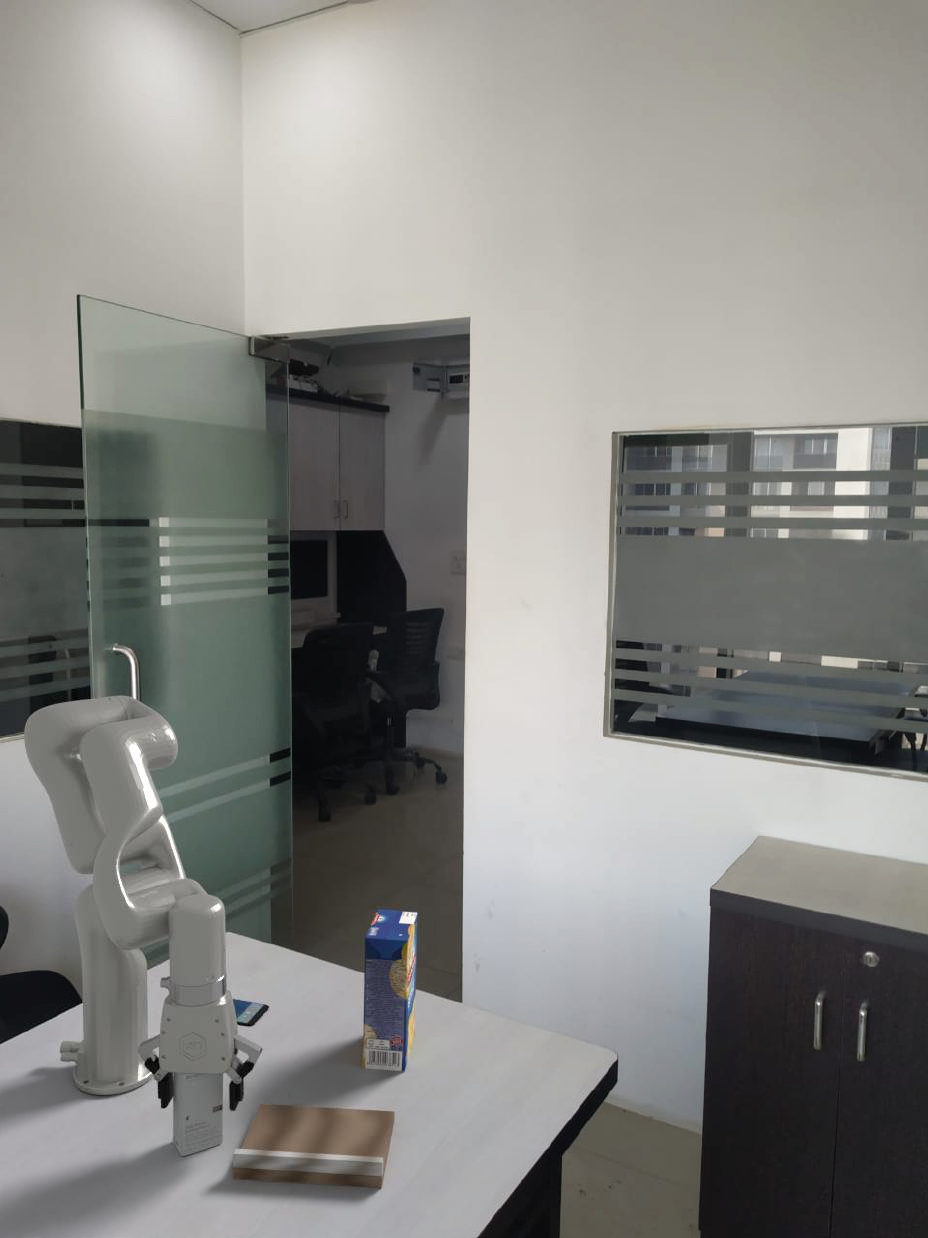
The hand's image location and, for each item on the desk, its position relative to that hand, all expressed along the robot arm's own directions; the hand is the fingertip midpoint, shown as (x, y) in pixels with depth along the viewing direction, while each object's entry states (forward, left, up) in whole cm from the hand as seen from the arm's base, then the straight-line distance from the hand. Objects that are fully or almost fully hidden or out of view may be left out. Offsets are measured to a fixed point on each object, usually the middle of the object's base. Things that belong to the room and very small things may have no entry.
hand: (201, 1104), depth 134 cm
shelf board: (+16, +1, -6) cm, 17 cm away
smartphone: (-8, +36, -7) cm, 37 cm away
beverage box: (+23, +26, -6) cm, 35 cm away
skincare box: (-1, +1, -6) cm, 6 cm away
